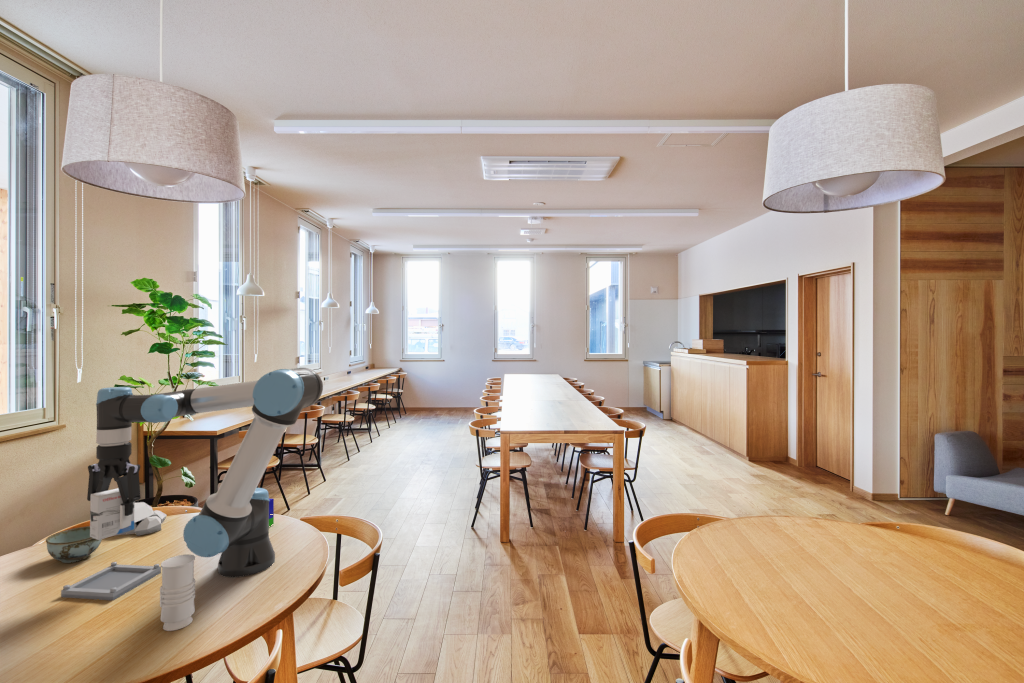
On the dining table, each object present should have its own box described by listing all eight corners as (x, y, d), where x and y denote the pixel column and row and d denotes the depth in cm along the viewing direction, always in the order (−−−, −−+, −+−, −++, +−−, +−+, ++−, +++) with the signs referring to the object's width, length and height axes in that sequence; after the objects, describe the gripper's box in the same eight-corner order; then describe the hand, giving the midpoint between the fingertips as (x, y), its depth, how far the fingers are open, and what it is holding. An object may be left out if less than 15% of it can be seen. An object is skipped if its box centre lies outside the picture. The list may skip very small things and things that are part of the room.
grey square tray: (160, 573, 140) (160, 563, 140) (113, 600, 125) (113, 590, 125) (113, 571, 141) (113, 561, 141) (61, 597, 126) (61, 587, 126)
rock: (166, 517, 186) (166, 492, 186) (169, 533, 170) (169, 505, 170) (104, 528, 174) (104, 501, 174) (101, 546, 159) (101, 517, 159)
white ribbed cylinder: (157, 623, 115) (157, 560, 115) (191, 611, 120) (191, 551, 120) (162, 635, 110) (162, 570, 110) (198, 623, 115) (198, 560, 115)
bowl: (32, 567, 143) (33, 540, 143) (82, 548, 156) (82, 524, 157) (67, 572, 140) (67, 545, 140) (115, 553, 153) (115, 527, 153)
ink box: (125, 526, 138) (126, 485, 138) (134, 529, 135) (135, 487, 135) (88, 537, 130) (89, 493, 130) (98, 540, 128) (98, 496, 128)
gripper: (157, 441, 136) (157, 522, 136) (95, 439, 138) (95, 520, 138) (134, 446, 128) (133, 533, 128) (68, 445, 130) (68, 530, 130)
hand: (113, 526), depth 133 cm, fingers closed on ink box, 6 cm apart
